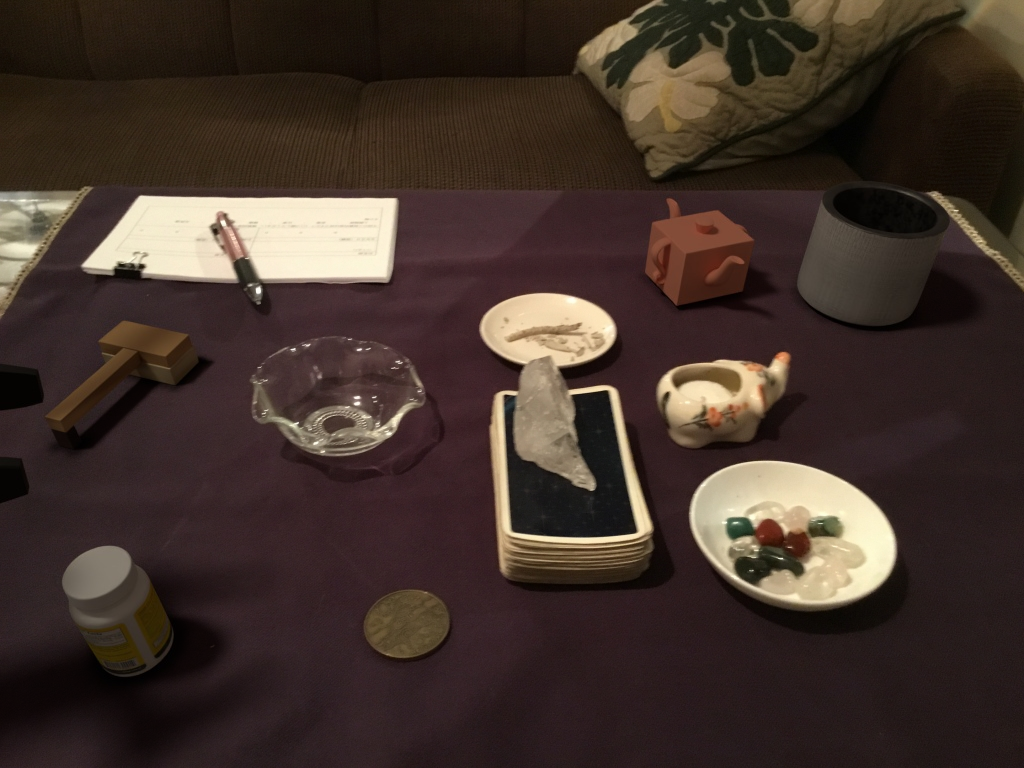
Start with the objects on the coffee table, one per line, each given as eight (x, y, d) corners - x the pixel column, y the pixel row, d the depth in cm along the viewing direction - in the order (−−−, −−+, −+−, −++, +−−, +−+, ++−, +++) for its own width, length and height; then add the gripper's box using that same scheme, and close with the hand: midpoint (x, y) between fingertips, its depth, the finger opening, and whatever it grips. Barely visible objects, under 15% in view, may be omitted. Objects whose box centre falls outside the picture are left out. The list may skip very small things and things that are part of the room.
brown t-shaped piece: (30, 438, 69) (15, 408, 66) (133, 347, 79) (123, 319, 77) (103, 457, 67) (90, 428, 65) (199, 361, 77) (190, 333, 75)
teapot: (680, 334, 82) (693, 265, 76) (614, 262, 92) (622, 197, 87) (775, 312, 85) (794, 244, 80) (702, 245, 96) (714, 181, 91)
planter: (876, 346, 81) (913, 251, 74) (772, 294, 88) (797, 203, 81) (934, 302, 87) (974, 211, 80) (833, 256, 94) (861, 169, 87)
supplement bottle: (155, 604, 56) (119, 527, 51) (187, 647, 53) (153, 571, 48) (87, 646, 53) (42, 570, 48) (117, 693, 51) (73, 618, 45)
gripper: (-408, 505, 31) (-3, 466, 36) (-266, 305, 41) (33, 295, 46) (-324, 616, 35) (29, 567, 40) (-214, 409, 45) (55, 390, 50)
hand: (33, 428), depth 43 cm, fingers open, 7 cm apart
